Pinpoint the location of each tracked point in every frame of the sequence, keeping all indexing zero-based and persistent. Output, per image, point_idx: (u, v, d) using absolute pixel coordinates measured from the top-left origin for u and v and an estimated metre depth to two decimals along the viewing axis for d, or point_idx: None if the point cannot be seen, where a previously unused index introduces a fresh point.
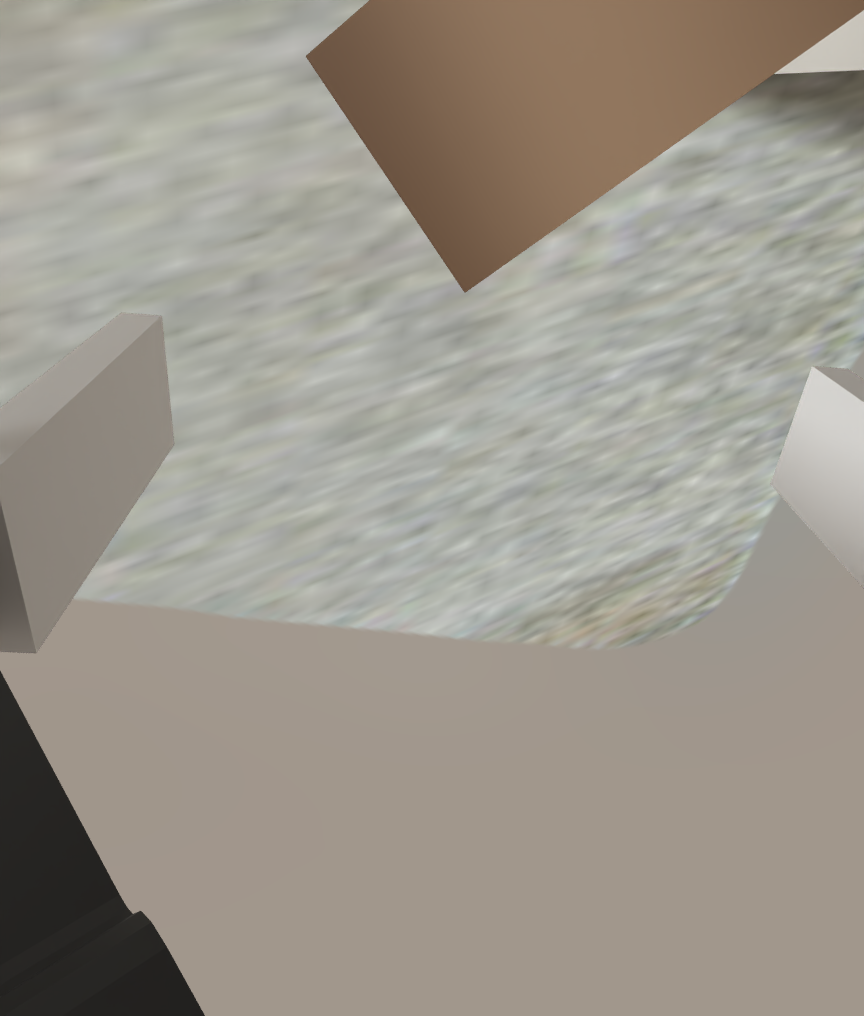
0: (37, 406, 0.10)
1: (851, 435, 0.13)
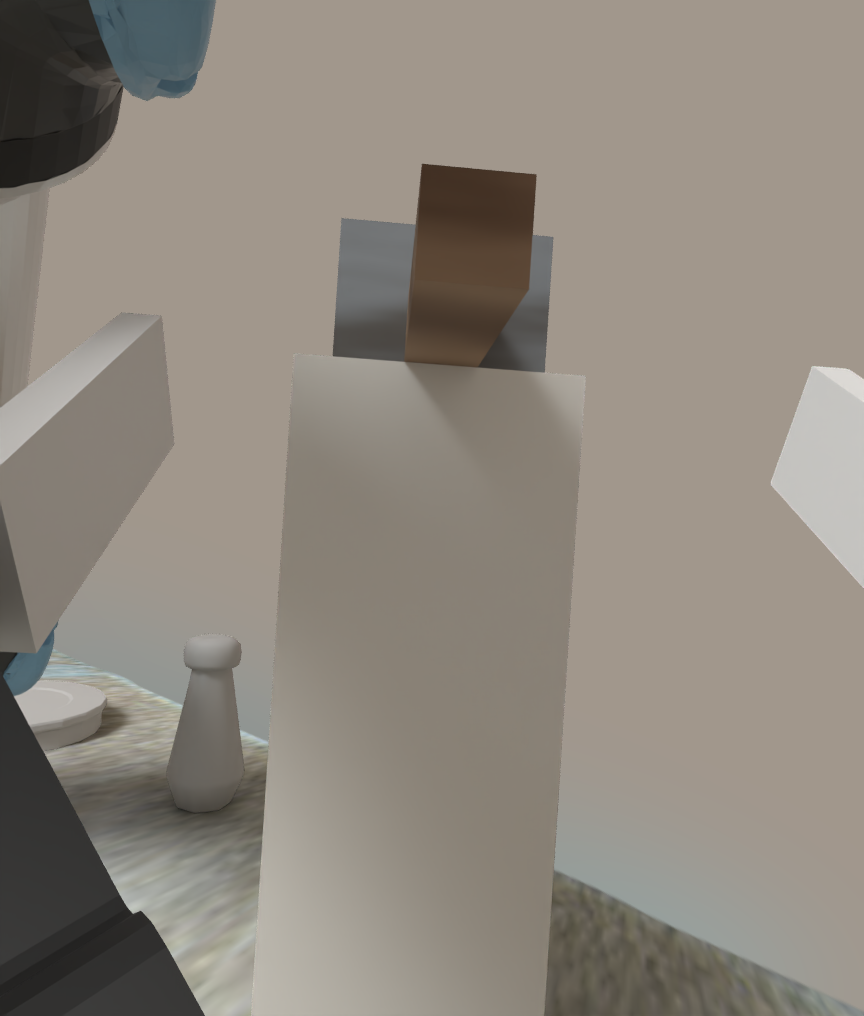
0: (37, 406, 0.10)
1: (851, 435, 0.13)
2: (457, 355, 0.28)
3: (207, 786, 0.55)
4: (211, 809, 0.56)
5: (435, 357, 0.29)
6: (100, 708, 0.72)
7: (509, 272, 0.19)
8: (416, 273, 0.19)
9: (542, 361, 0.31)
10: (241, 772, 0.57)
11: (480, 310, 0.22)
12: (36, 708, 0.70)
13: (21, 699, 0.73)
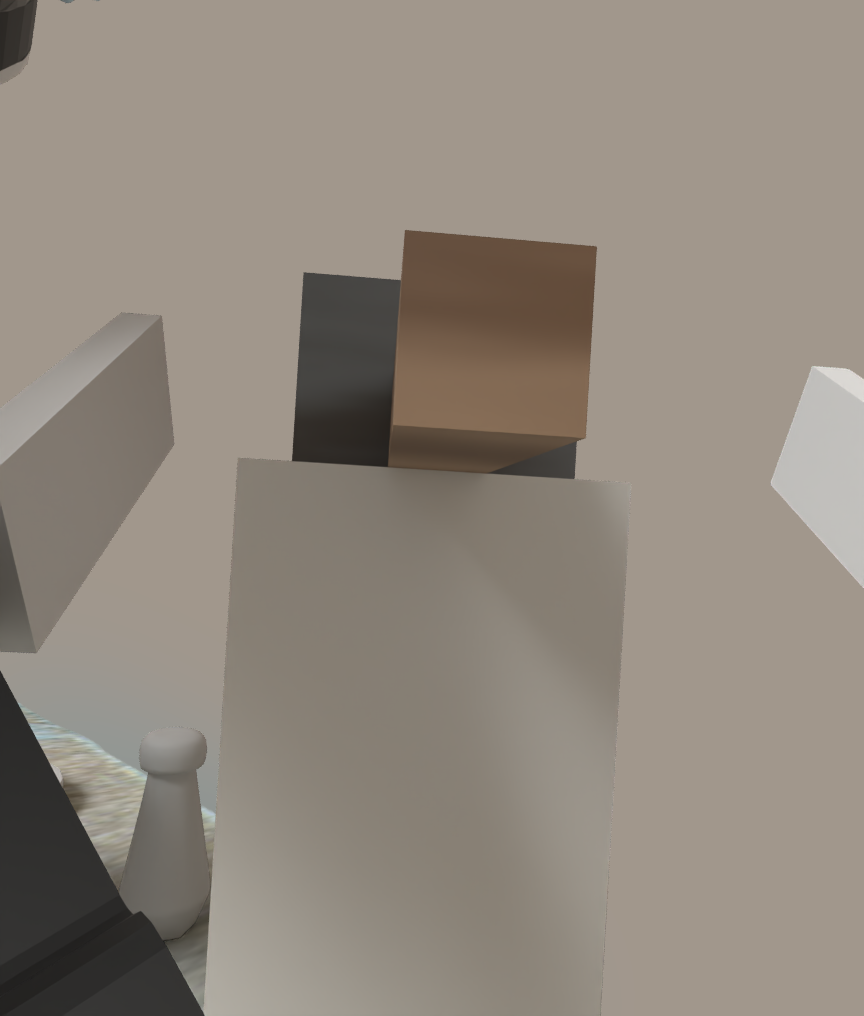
0: (37, 406, 0.10)
1: (852, 435, 0.13)
2: (460, 467, 0.20)
3: (165, 913, 0.47)
4: (170, 937, 0.48)
5: (429, 467, 0.21)
6: None
7: (552, 411, 0.11)
8: (396, 414, 0.11)
9: (571, 459, 0.24)
10: (206, 890, 0.49)
11: (499, 447, 0.14)
12: None
13: None
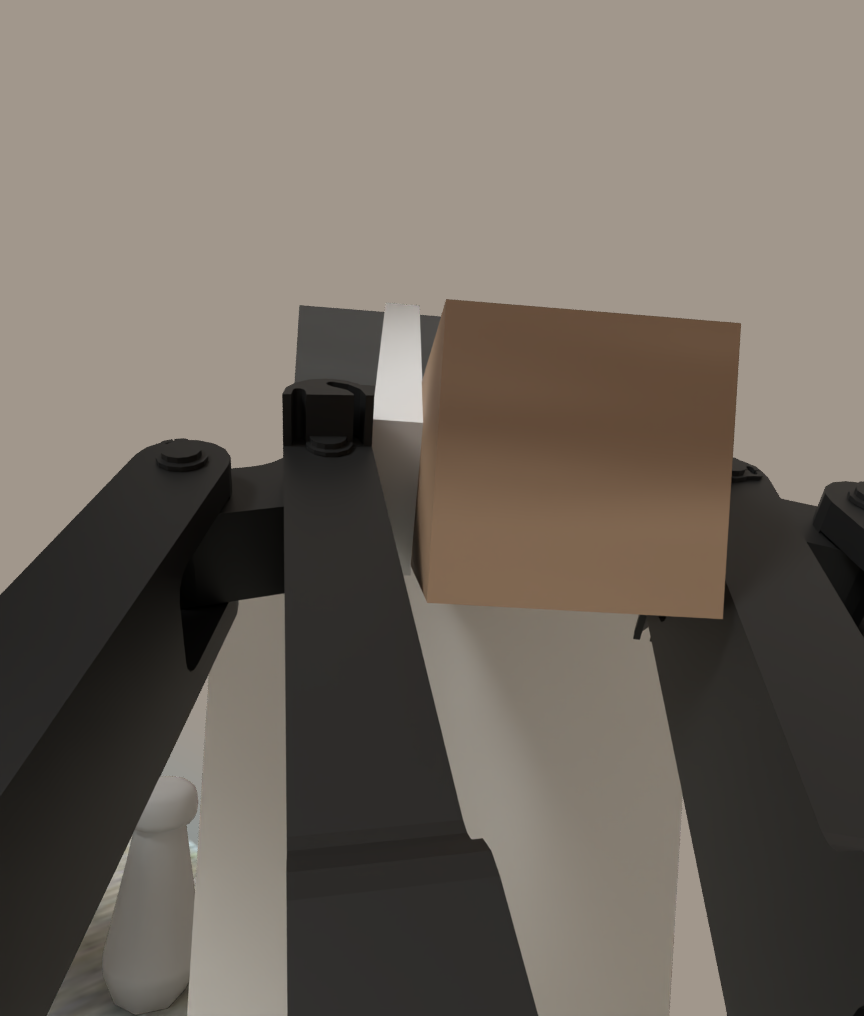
0: (402, 376, 0.12)
1: None
2: None
3: (152, 983, 0.43)
4: (158, 1008, 0.44)
5: None
6: None
7: (672, 578, 0.07)
8: (432, 587, 0.07)
9: None
10: None
11: None
12: None
13: None
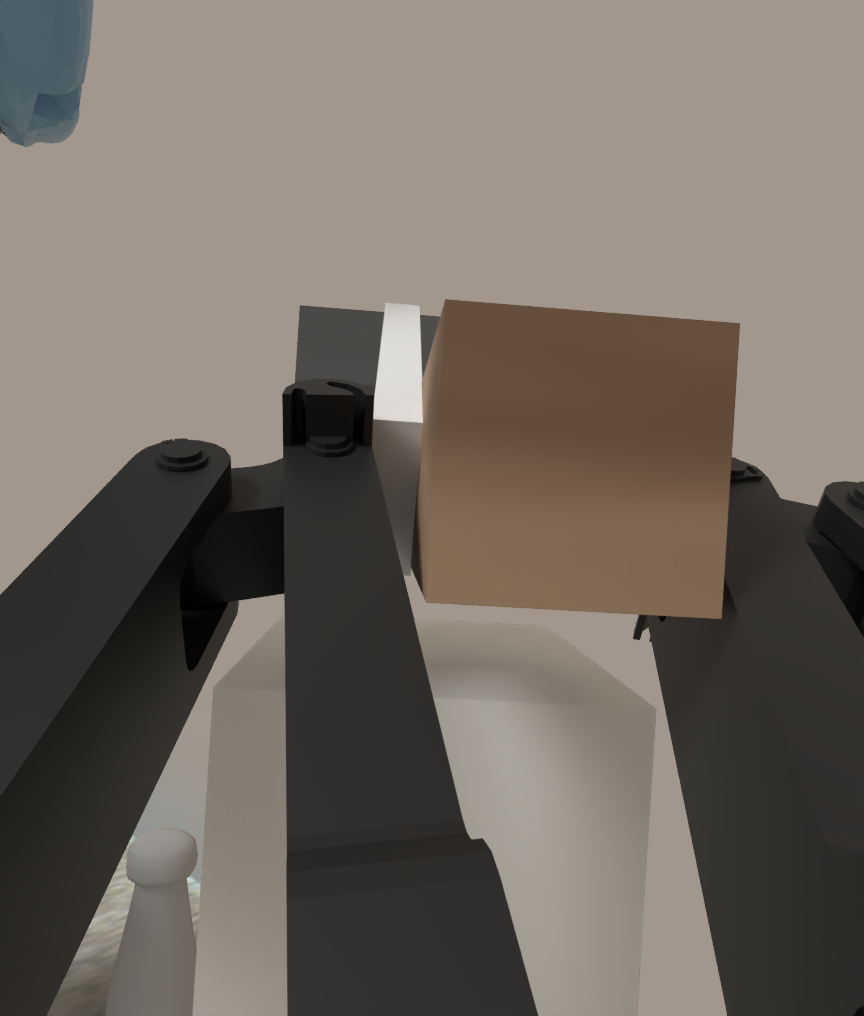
0: (402, 376, 0.12)
1: None
2: None
3: None
4: None
5: None
6: None
7: (672, 578, 0.07)
8: (431, 587, 0.07)
9: None
10: None
11: None
12: None
13: None
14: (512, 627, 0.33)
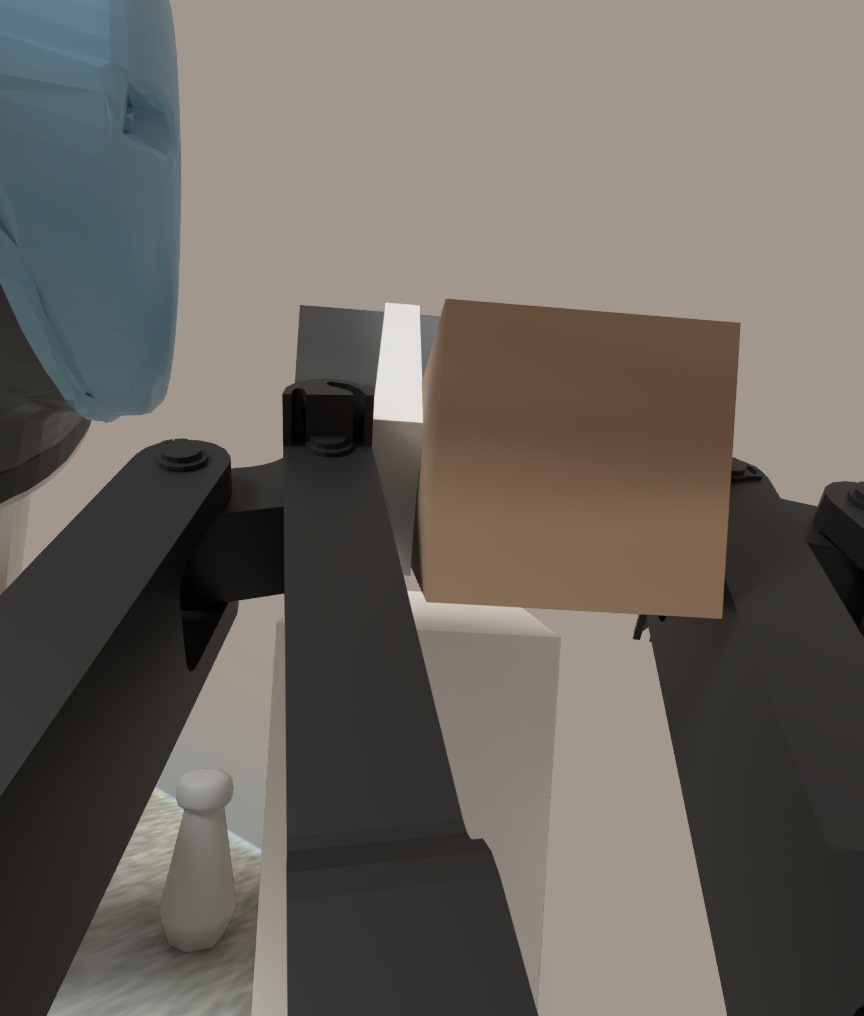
0: (402, 376, 0.12)
1: None
2: None
3: (200, 928, 0.56)
4: (203, 948, 0.57)
5: None
6: None
7: (672, 578, 0.07)
8: (431, 586, 0.07)
9: None
10: (233, 907, 0.58)
11: None
12: None
13: None
14: None
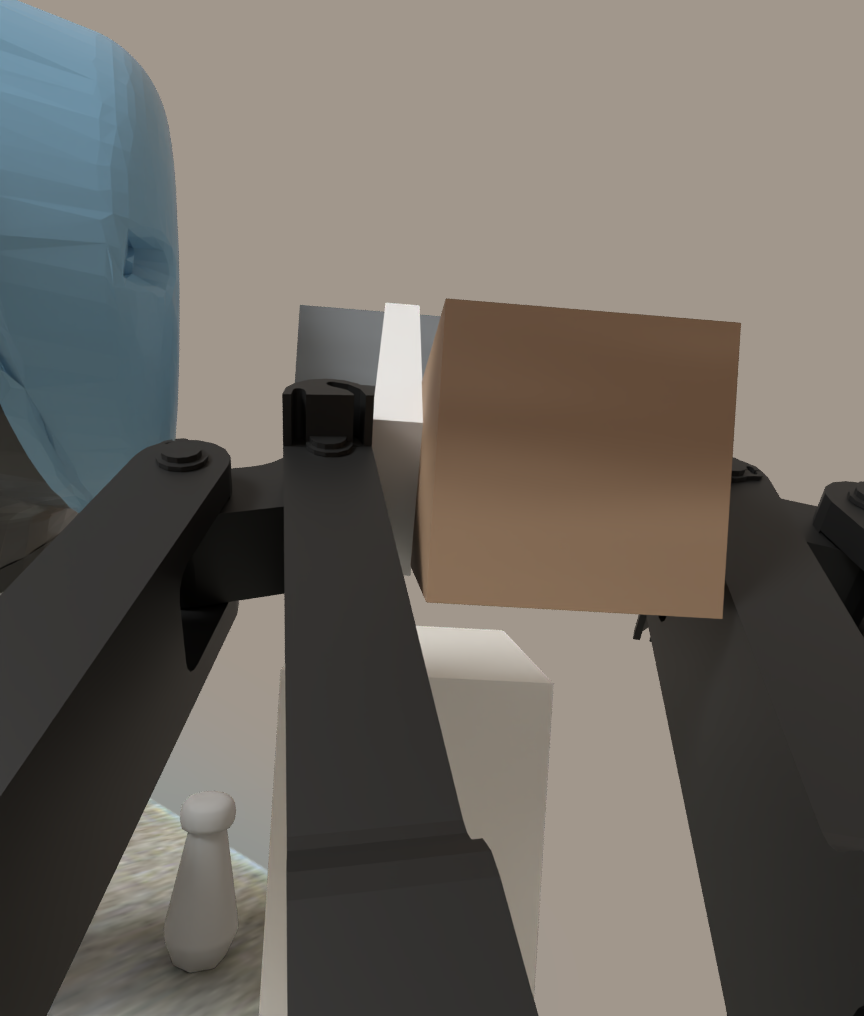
0: (402, 376, 0.12)
1: None
2: None
3: (203, 949, 0.57)
4: (206, 968, 0.58)
5: None
6: None
7: (672, 578, 0.07)
8: (431, 587, 0.07)
9: None
10: (235, 928, 0.60)
11: None
12: None
13: None
14: (477, 631, 0.46)
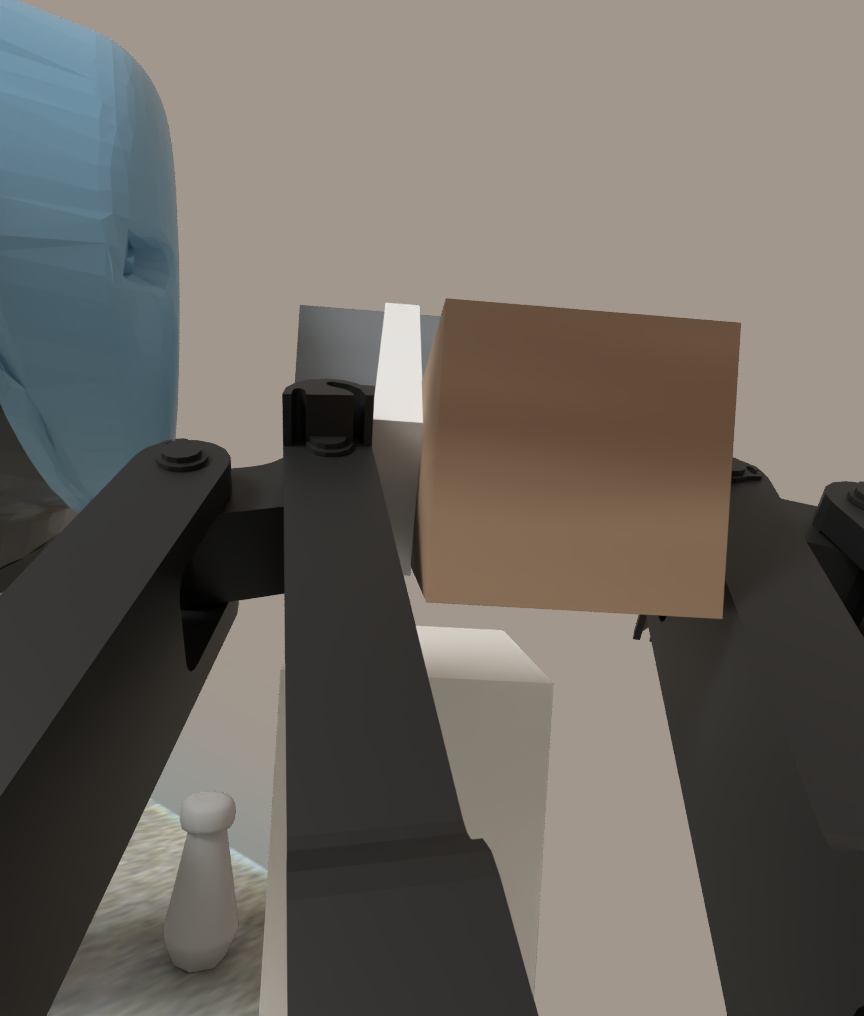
0: (402, 376, 0.12)
1: None
2: None
3: (203, 949, 0.57)
4: (206, 968, 0.58)
5: None
6: None
7: (672, 578, 0.07)
8: (431, 587, 0.07)
9: None
10: (235, 928, 0.60)
11: None
12: None
13: None
14: (477, 631, 0.46)
